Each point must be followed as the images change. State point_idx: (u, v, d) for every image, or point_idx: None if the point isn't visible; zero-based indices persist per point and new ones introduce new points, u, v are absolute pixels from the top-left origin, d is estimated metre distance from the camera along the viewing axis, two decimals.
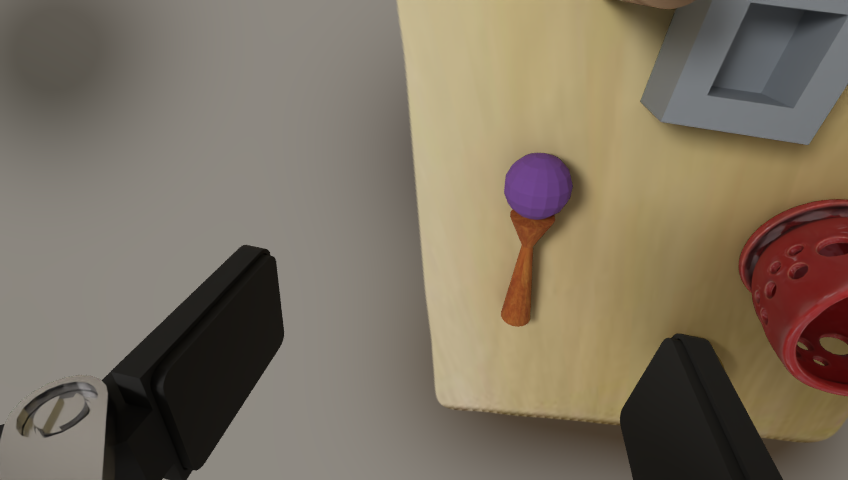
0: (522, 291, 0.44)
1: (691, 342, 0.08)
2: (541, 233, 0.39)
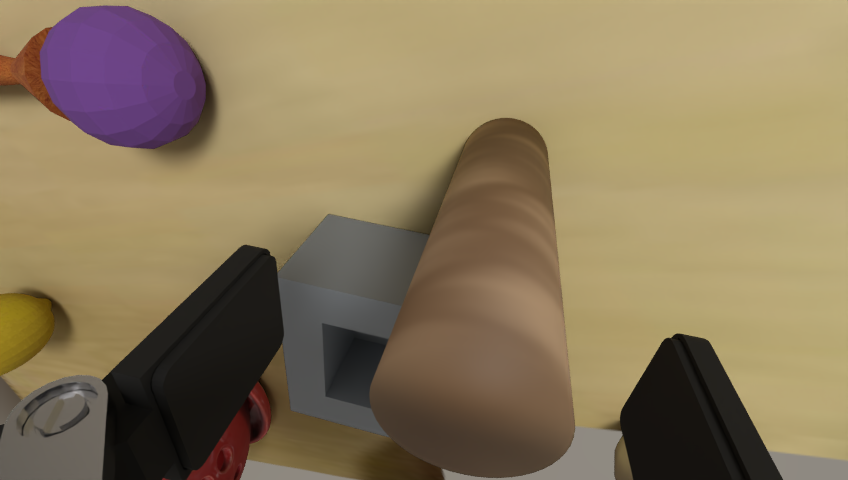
0: None
1: (691, 342, 0.08)
2: None
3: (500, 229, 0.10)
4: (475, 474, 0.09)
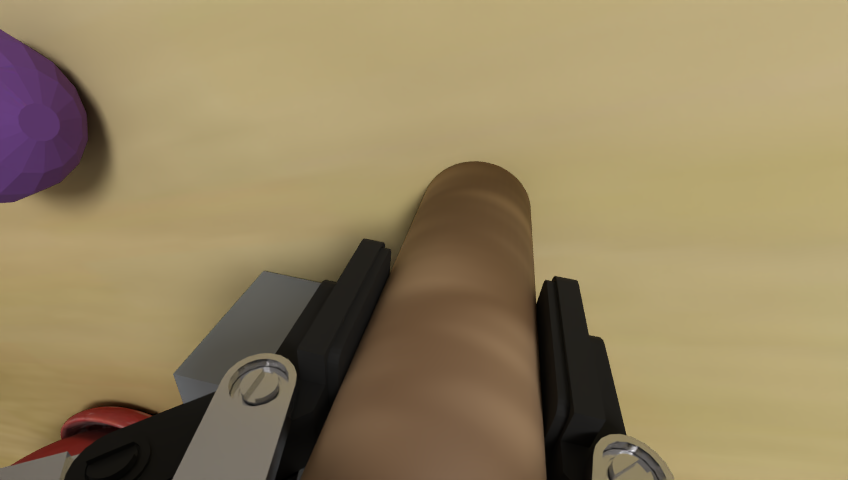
0: None
1: (561, 282, 0.10)
2: None
3: (441, 411, 0.06)
4: None
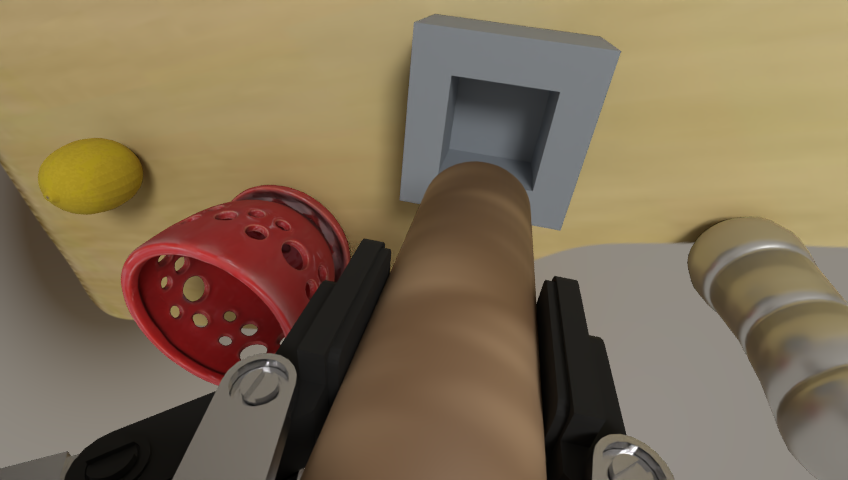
0: None
1: (561, 282, 0.10)
2: None
3: (441, 411, 0.06)
4: None
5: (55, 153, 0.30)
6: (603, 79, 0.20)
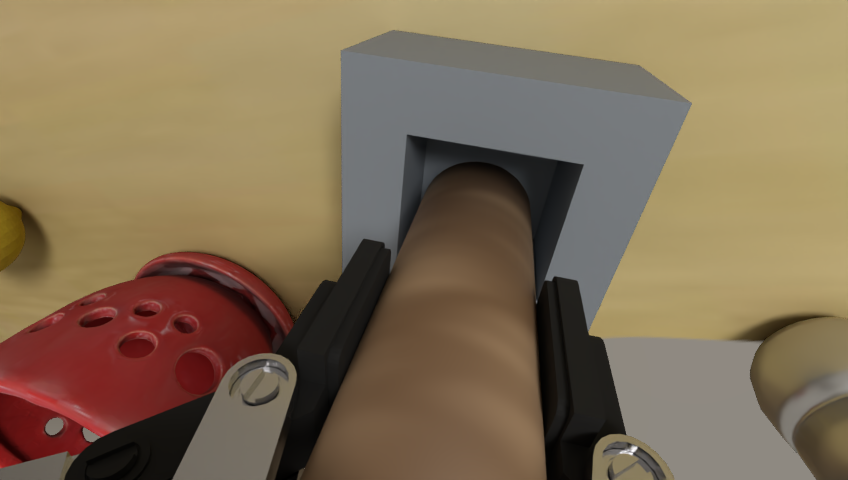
0: None
1: (561, 282, 0.10)
2: None
3: (441, 411, 0.06)
4: None
5: None
6: (658, 147, 0.12)
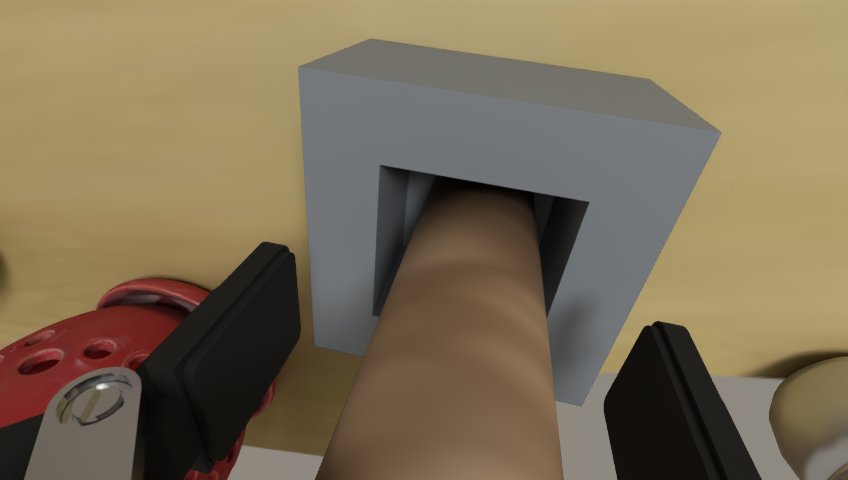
0: None
1: (669, 329, 0.09)
2: None
3: (465, 359, 0.07)
4: None
5: None
6: (678, 183, 0.10)
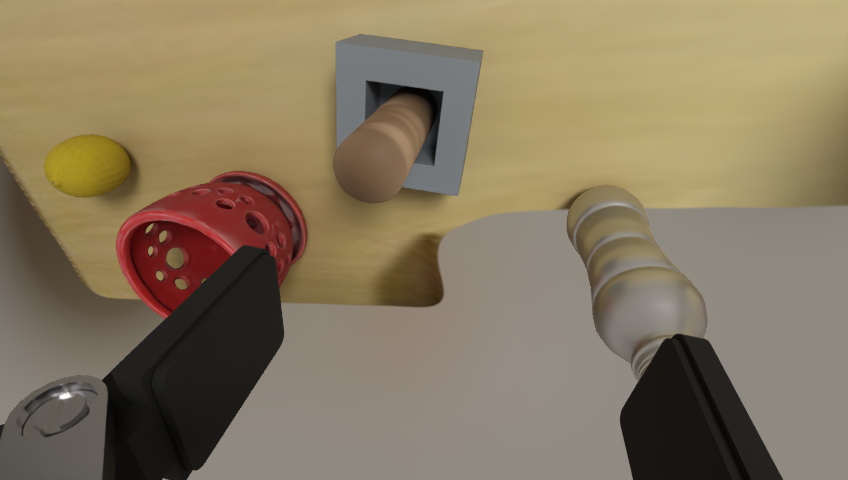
0: None
1: (691, 342, 0.08)
2: None
3: (388, 114, 0.25)
4: None
5: (58, 146, 0.37)
6: (471, 82, 0.28)
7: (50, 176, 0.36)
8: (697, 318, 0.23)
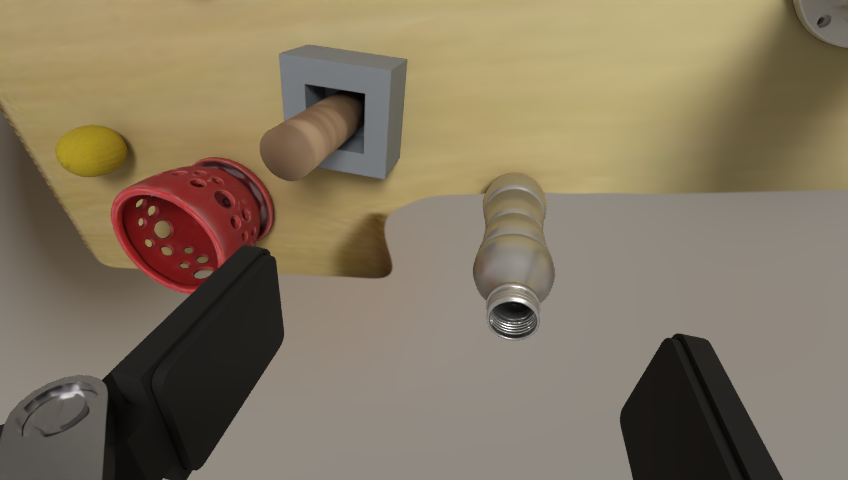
0: None
1: (691, 342, 0.08)
2: None
3: (309, 113, 0.32)
4: (293, 180, 0.31)
5: (67, 134, 0.45)
6: (386, 86, 0.35)
7: (60, 158, 0.44)
8: (538, 272, 0.30)
